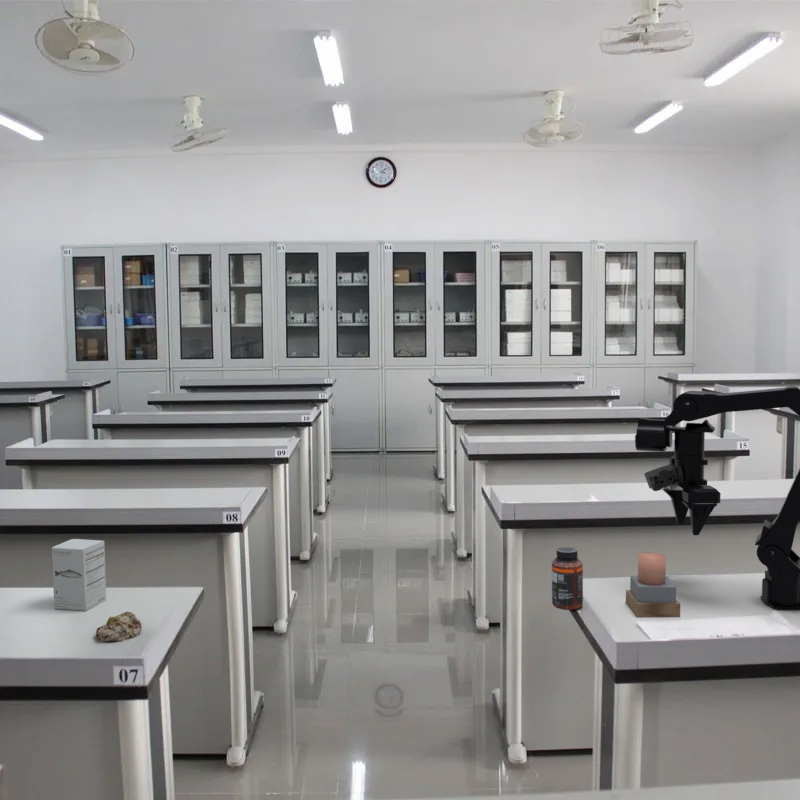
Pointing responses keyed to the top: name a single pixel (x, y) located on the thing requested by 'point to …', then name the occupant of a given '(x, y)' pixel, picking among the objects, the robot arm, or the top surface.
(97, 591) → the supplement box
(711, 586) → the top surface
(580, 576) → the supplement bottle
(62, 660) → the top surface
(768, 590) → the robot arm
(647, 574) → the brick cylinder
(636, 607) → the tower base
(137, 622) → the mineral rock
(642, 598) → the tower top
